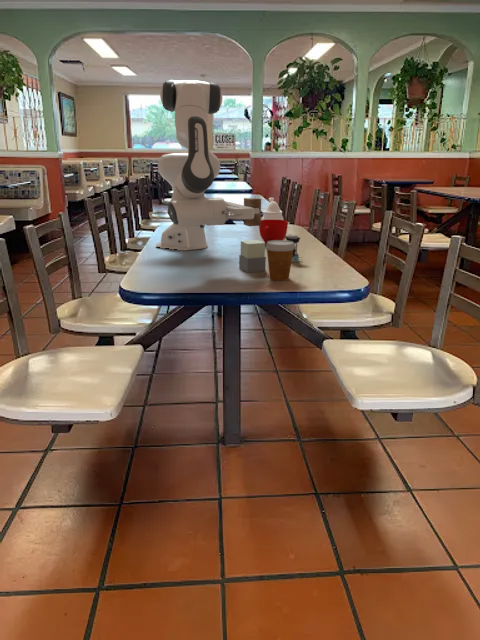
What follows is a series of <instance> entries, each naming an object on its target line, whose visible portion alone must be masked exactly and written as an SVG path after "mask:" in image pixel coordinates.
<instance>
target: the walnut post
mask: <svg viewBox="0 0 480 640" xmlns="http://www.w3.org/2000/svg"><path fill="white" fill-rule="evenodd" d="M243 205H244V206H248V207H252V208H259V213H258V214H254V218H253V219H243V225H244V226H247V227H256V226H257V227H259V226H261V220H262V198H259V197H244V198H243Z"/></svg>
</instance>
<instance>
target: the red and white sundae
mask: <svg viewBox="0 0 480 640" xmlns="http://www.w3.org/2000/svg"><path fill="white" fill-rule="evenodd" d="M274 200H275V198H274V197H269V198H268V201H269V203H268V204H267V206H266V208H265V210H261V214H263V215H262V216H261V220H284V216H283V211H282V210H281V208H280V206H279V204H278V202H276V201H274ZM258 234H259V236H260V237H261V235H260V232H258Z"/></svg>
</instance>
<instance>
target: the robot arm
mask: <svg viewBox="0 0 480 640" xmlns="http://www.w3.org/2000/svg"><path fill="white" fill-rule="evenodd" d="M159 93H160V94H159V97H160V98H159V99H160V102H161V104H162V107H163V109H164V110H165V111H168V112H172V113H174V126H175V135H176V136H175V137H176V140H177V142H178V144H179V145H180V146H181V147H183V148H185V149H187V152H169V153H165V154H162V155H161V156H160V158H159V160H158V162H157V170H158V173H159V175H160V177H162V178H163V179H164V180H165V181H166V182H167V183H169V185H170V186H171V187H172V189H173V192H172V196H171V199H170V200H169V202H168V203H167V214H168V216H169V219H170V221H171V222H172V224H171V225H169V226H168V227H167V228H166V229H165V230H164V231H163V232H162V233H161V237H160V242H158V243H156V244H155V247H160V248H159V249H165V248H169V249H168V250H174V249H177V250H176V251H191V250H202V249H206V248H208V247H209V245H208V241H207V237H206V232H205V226H222V225H224V224H226V221H228V220H230V219H231V220H237V221H238V220H244V219H253V218H254V214H258V213H259V208H252V207H248V206H244V204H240V203H239V204H238V203H234V202H230V201H225V199H224V198H223V197H206V196H205V192H206V190H207V189H209V188H210V187H211V186H212V184H213V182H214V179H216V178H217V177H218V176H219V174H220V171H221V163H220V159H219V158H218V157H217V156H216V154H214V153H213V152H212V151H211V150H210V149H209V141H208V138H209V137H208V117H209V116H208V115H213V114H217V113H218V112H219V111H220V109H221V107H222V105H223V92H222V90H221V87H220V85H219V84H217V83H215V82H212V81H210V82H207V81H202V80H196V79H191V80H189V79H188V80H187V79H181V80H180V79H179V80H174V79H169V80H165V81H164V82H163V83H162V86H161V88H160V92H159Z"/></svg>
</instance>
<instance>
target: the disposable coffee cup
mask: <svg viewBox="0 0 480 640" xmlns="http://www.w3.org/2000/svg"><path fill="white" fill-rule="evenodd" d="M294 248H296V245H295V246H294V243H293V242H291V241H287V239H285V240H284V239H283V240H273V241H268V242H267V244H265V250H266V253H267V254H266V255H267V263H268V274H269V275H268V276H269V279H270V280H272V281H280V282H281V281H287V280H289V279H290V272H291V267H292V262H291V261H292V255H293V250H294Z"/></svg>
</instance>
